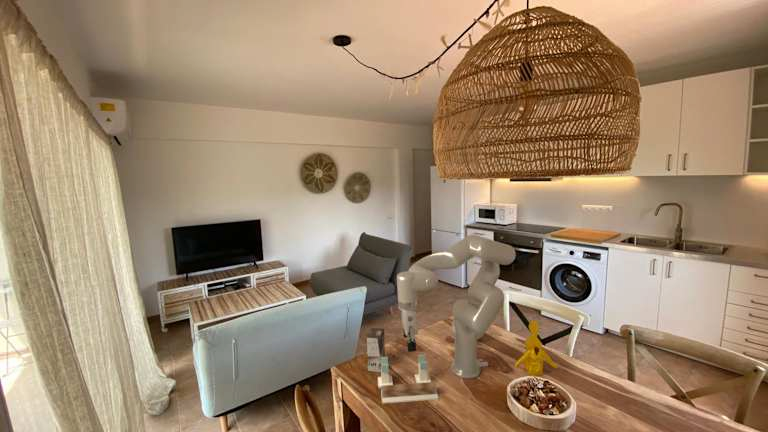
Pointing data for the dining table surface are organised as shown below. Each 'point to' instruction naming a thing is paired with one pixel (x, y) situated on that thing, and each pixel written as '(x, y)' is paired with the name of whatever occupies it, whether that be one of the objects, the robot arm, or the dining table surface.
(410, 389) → the rail
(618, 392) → the dining table surface
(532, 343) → the figure statuette
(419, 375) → the toy blocks
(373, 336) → the coffee box
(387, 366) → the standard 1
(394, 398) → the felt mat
